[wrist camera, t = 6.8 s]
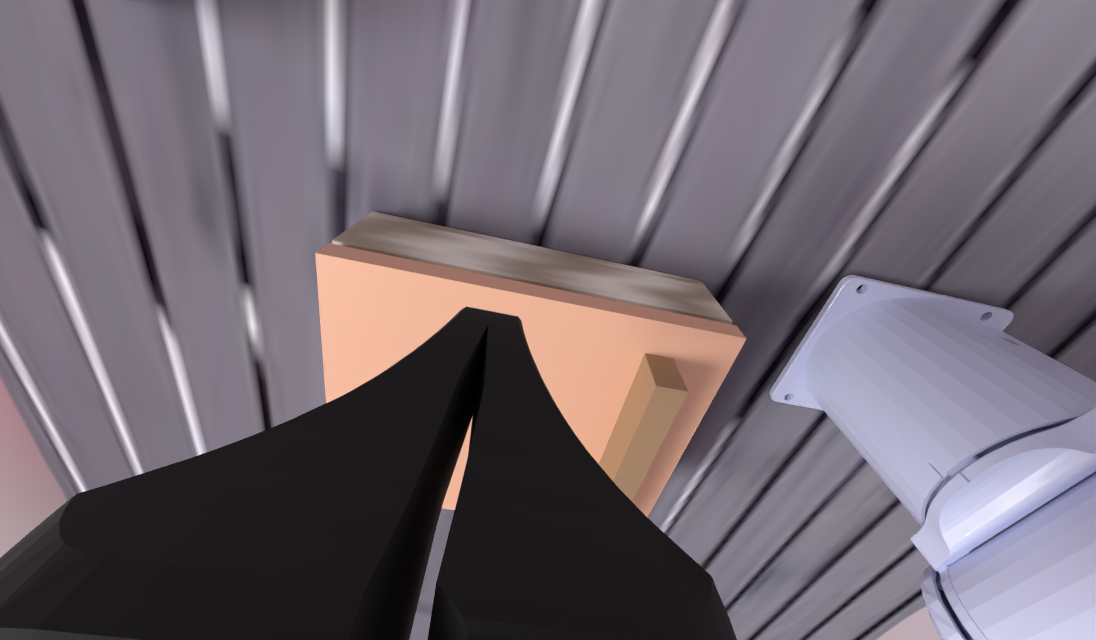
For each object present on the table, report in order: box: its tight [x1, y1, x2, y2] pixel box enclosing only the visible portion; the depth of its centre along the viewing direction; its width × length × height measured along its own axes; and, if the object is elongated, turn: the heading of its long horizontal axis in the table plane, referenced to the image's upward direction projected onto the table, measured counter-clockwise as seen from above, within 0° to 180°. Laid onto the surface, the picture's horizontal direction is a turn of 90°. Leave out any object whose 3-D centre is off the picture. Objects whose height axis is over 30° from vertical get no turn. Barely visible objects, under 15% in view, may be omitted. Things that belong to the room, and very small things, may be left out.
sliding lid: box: [315, 243, 747, 517], centre depth 17 cm, size 16×13×3 cm
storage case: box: [332, 211, 733, 324], centre depth 21 cm, size 16×13×4 cm
